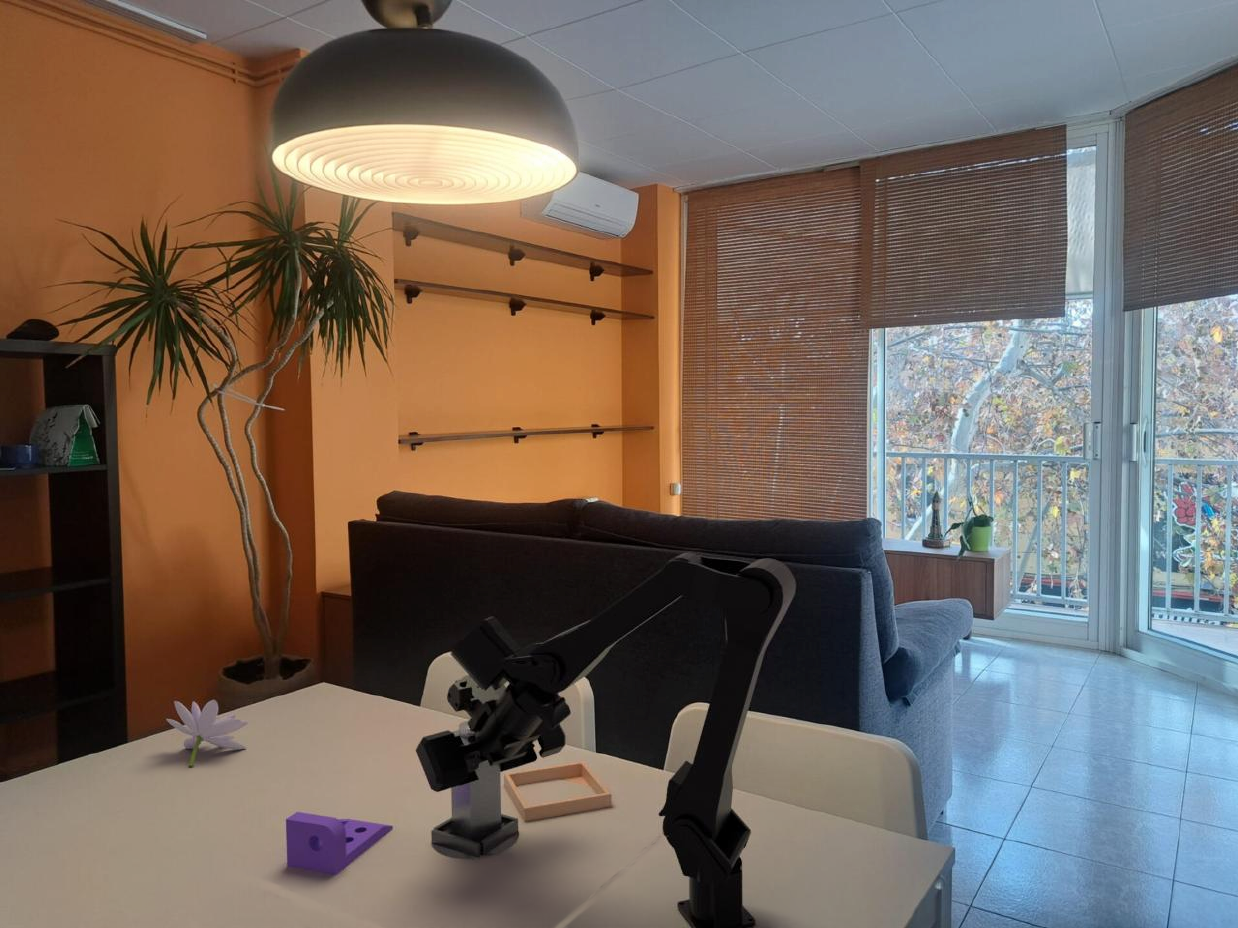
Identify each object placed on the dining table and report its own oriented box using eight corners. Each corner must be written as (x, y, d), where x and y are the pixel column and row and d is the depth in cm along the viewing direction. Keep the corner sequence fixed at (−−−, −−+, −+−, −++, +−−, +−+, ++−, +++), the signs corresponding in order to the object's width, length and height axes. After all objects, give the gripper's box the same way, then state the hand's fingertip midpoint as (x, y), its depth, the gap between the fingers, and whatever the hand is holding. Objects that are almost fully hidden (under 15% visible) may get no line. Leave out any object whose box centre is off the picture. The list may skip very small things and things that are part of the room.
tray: (611, 811, 120) (611, 793, 120) (524, 826, 116) (524, 808, 116) (584, 777, 131) (583, 761, 131) (504, 790, 127) (503, 773, 127)
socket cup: (536, 834, 114) (535, 816, 113) (481, 873, 104) (481, 853, 104) (470, 816, 119) (470, 798, 119) (412, 850, 110) (412, 832, 110)
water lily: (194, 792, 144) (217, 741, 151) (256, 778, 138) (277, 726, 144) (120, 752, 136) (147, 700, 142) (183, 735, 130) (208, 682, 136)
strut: (501, 833, 112) (499, 725, 111) (470, 844, 109) (469, 733, 108) (482, 821, 115) (480, 716, 114) (451, 832, 112) (450, 724, 111)
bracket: (336, 883, 103) (334, 826, 103) (287, 874, 105) (285, 819, 105) (392, 837, 114) (391, 785, 114) (347, 829, 116) (346, 779, 116)
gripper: (551, 643, 114) (505, 706, 123) (421, 672, 101) (380, 740, 110) (590, 718, 108) (539, 778, 117) (458, 758, 96) (412, 822, 105)
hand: (470, 777), depth 112 cm, fingers closed on strut, 4 cm apart
